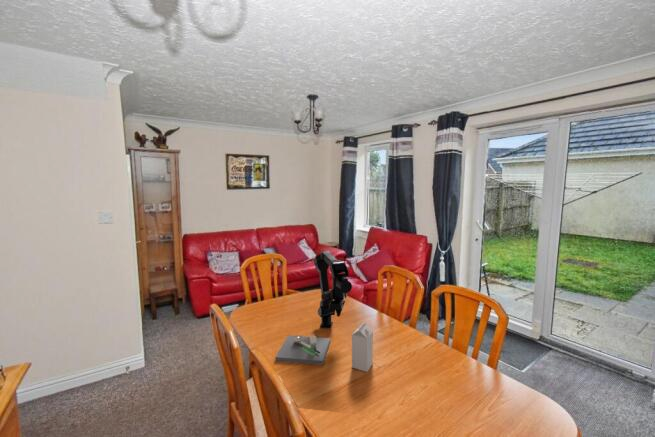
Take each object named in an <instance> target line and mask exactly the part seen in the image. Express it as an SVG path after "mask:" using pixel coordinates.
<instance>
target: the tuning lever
mask: <svg viewBox="0 0 655 437" xmlns="http://www.w3.org/2000/svg"><path fill="white" fill-rule="evenodd" d="M293 336H294V344H297V345H298V344H299V345H301V346H303V347H305V348H307V349H309V350H311V351H315V352H317V353H320V352H319V351H317V350H316V349H317V341H316V337H317V335H316V334H311V335H310V336H309V337H310V345H308V344H306V343H304V342H302V335H301V334H295V335H293Z"/></svg>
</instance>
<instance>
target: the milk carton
mask: <svg viewBox="0 0 655 437" xmlns="http://www.w3.org/2000/svg"><path fill="white" fill-rule="evenodd" d="M373 344H374V331H373V330H372V329H371V328H370V327H369V326H368V324H367V323H366V321H363V322H362V324H361V325H360V326H359V327H357V328H356V330H355V331H354V332H353V333H352V334H351V369H352V368H353V369H356V370H358V371H363V372H366V373H369V370H370V368H371V367H372V366H373V363H374V359H373V358H374V355H373V354H374V348H373V347H374V346H373Z"/></svg>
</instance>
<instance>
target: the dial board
mask: <svg viewBox="0 0 655 437" xmlns="http://www.w3.org/2000/svg"><path fill="white" fill-rule="evenodd" d="M294 336H295V335H287V337H286V338H285V340H284V342H283V344H282V345H281V347H280V349H279V350H278V352H277V353H276V355H275V359H274V360H275V362H277V363H278V362H281V363H291V364H293V363H294V364H303V365H316V366H324V365H325V361H326V357H327V355H328V351H329V348H330V344H331V337H320V336H319V337H317V336H316V341H317V349H316V350H317V351H319V352H320V353H317V352H315V351H311V350H309V349H307V348H305V347H303V346H301V345H299V344H298V345H297V344H294ZM301 336H302V335H301ZM302 342H304V343H306V344H308V345H310V336H304V335H303V336H302Z"/></svg>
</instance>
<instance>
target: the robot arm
mask: <svg viewBox="0 0 655 437" xmlns="http://www.w3.org/2000/svg"><path fill="white" fill-rule="evenodd" d="M313 264H314V268H315V269H316V271H317V272H318V276H319V283H320V285H319V286H320V290H321V291H320V293H321V294H320V296H321V299H320V301H319V307H318V309H317V315H318V316H319V317H320V318H321V319H320V320H321V323H320V325H319V327H320V328H327V329H328V328H329V329H331V328H332V327H333V324H334V322H333V321H332V316H335V314H336V316H337V317H339V318H340V316H341V314H342V311H343V309H344V305H345V304H346V300H345V299H347V297H348V293H350V292H351V290H352V288H353V285H352V283H351V282H350V281H349V277H350V272H349V269H348V266H347V263H345V261H343V260H342V259H337V258H336V257H335V256H334V255H333V254H331V251H329V250H326V251H325V250H324V251H321V252H320V253H319V254H317V255H316V256H315V257H314V259H313ZM328 270H330V273H331V276H332V288H331V289H330V285H329V276H328Z"/></svg>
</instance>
